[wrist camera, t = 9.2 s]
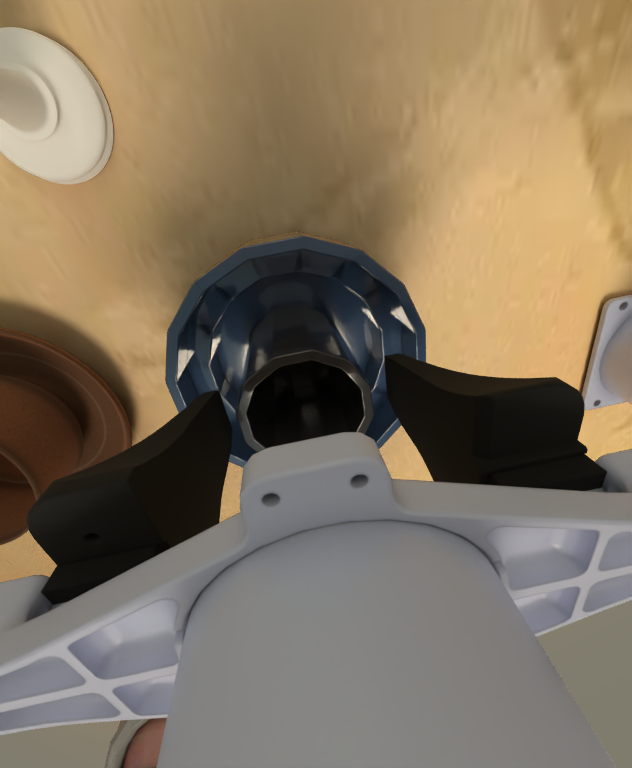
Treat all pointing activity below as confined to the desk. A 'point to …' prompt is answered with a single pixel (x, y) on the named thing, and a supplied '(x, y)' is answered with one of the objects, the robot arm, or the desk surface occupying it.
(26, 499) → the cup and saucer
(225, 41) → the desk surface
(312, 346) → the cup
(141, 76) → the desk surface
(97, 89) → the chess piece
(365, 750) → the robot arm
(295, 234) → the bowl
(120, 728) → the beverage can
